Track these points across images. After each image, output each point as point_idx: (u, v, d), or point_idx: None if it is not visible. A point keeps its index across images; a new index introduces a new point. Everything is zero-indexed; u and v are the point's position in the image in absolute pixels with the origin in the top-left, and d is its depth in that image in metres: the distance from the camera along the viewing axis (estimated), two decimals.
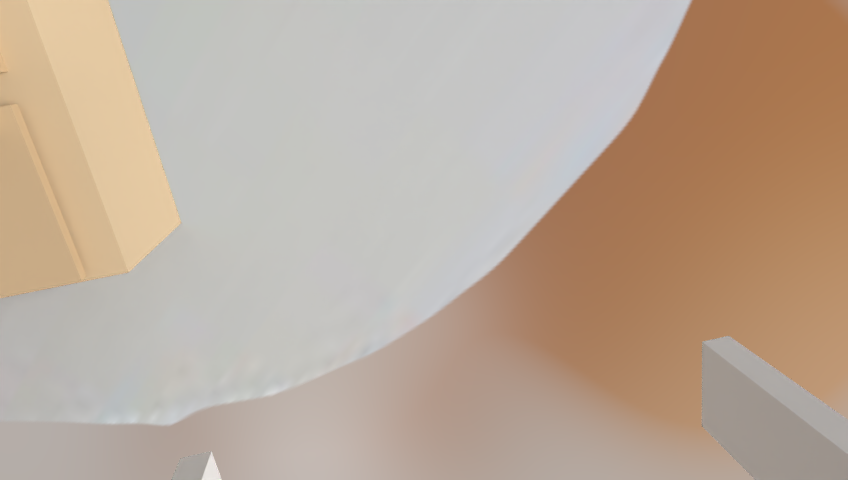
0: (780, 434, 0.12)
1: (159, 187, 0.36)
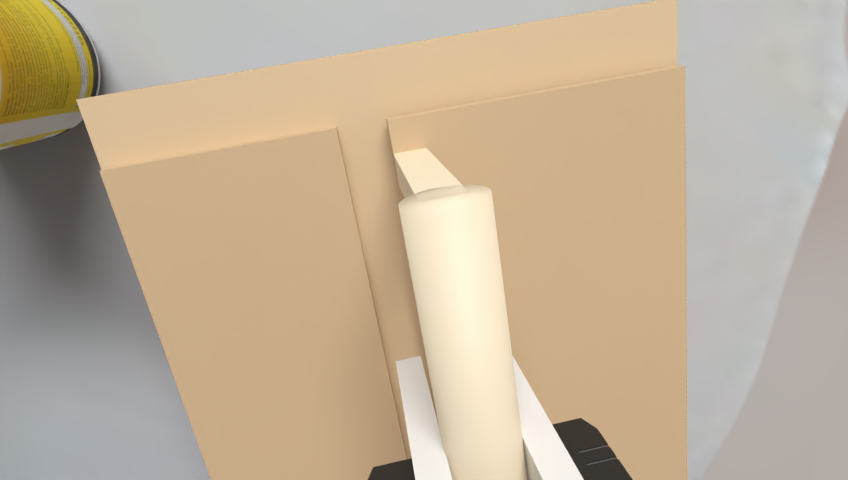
0: None
1: None
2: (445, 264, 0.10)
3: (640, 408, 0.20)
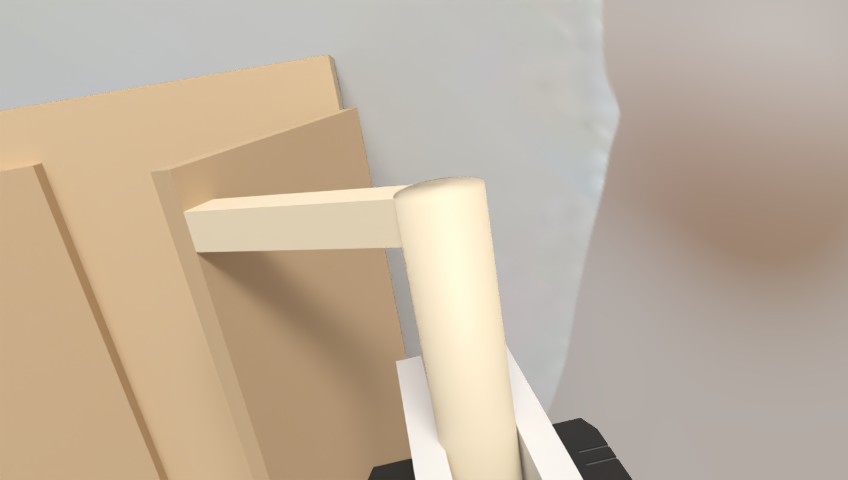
0: None
1: None
2: (483, 241, 0.10)
3: (395, 407, 0.22)
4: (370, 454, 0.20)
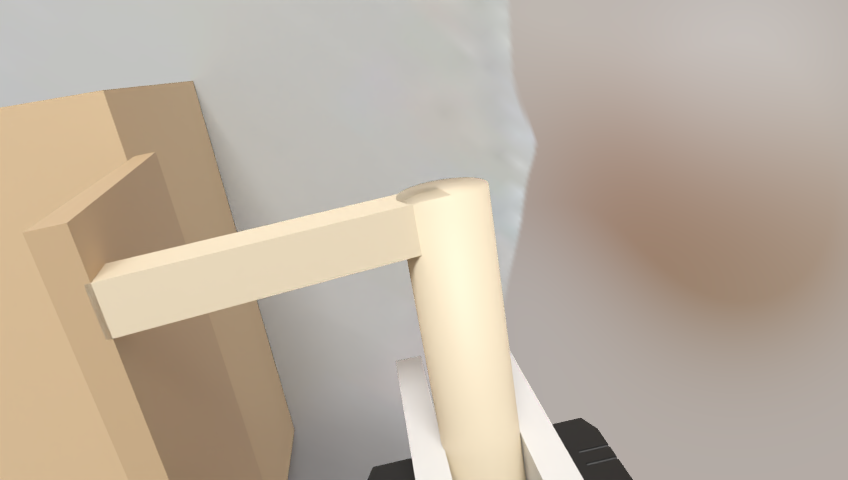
0: None
1: None
2: (494, 232, 0.11)
3: None
4: None
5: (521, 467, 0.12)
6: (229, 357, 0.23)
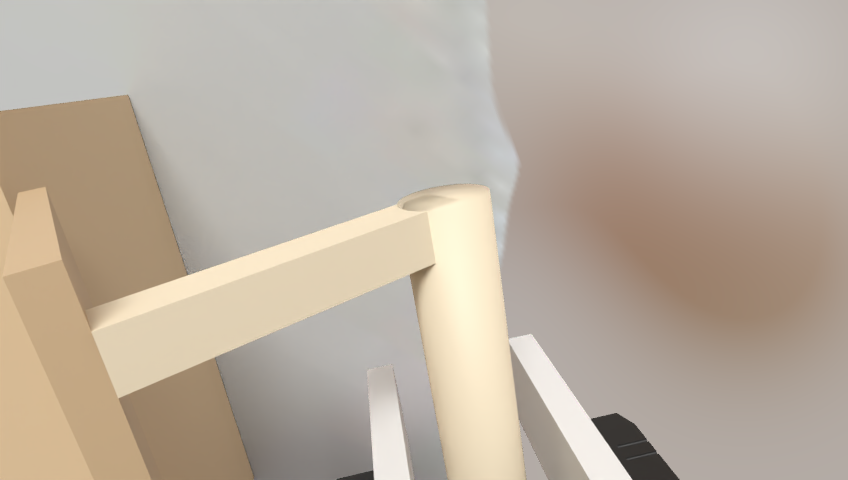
0: (541, 419, 0.14)
1: None
2: None
3: None
4: None
5: (524, 465, 0.12)
6: (159, 414, 0.20)
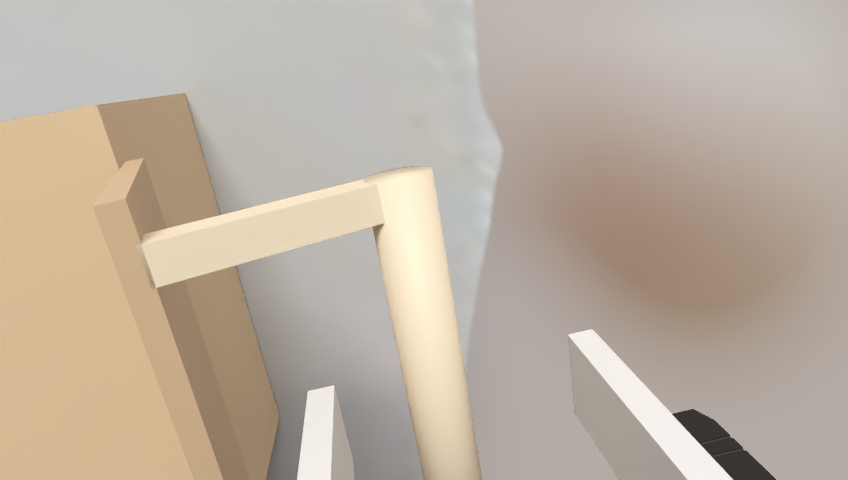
0: (613, 416, 0.13)
1: None
2: (437, 205, 0.14)
3: (240, 461, 0.21)
4: None
5: (465, 390, 0.16)
6: (212, 343, 0.25)
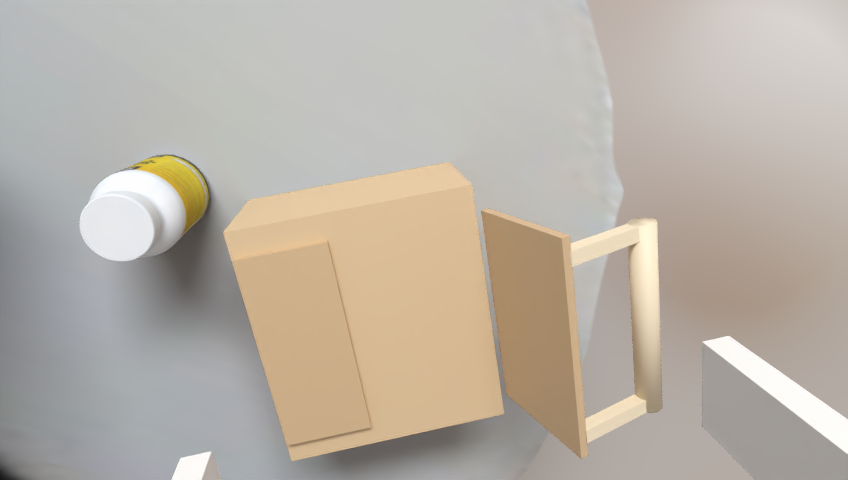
0: (780, 434, 0.12)
1: (418, 171, 0.47)
2: None
3: None
4: None
5: (659, 312, 0.37)
6: None
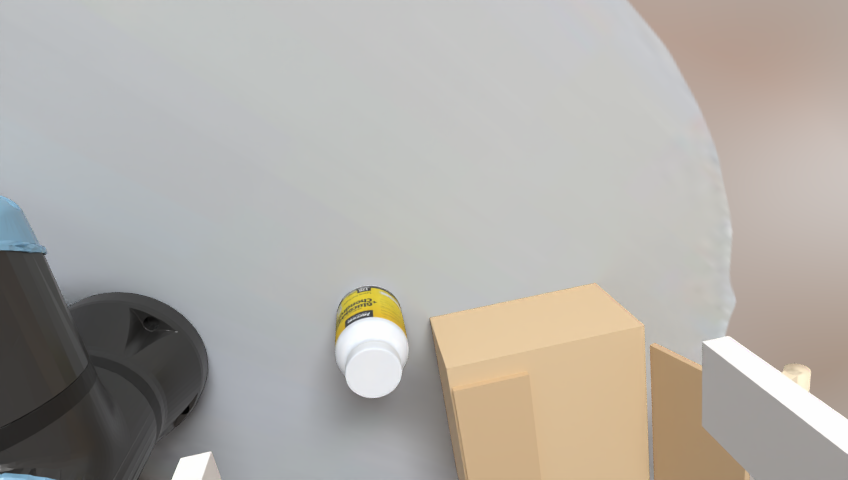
0: (780, 434, 0.12)
1: (574, 295, 0.56)
2: None
3: None
4: None
5: None
6: None
